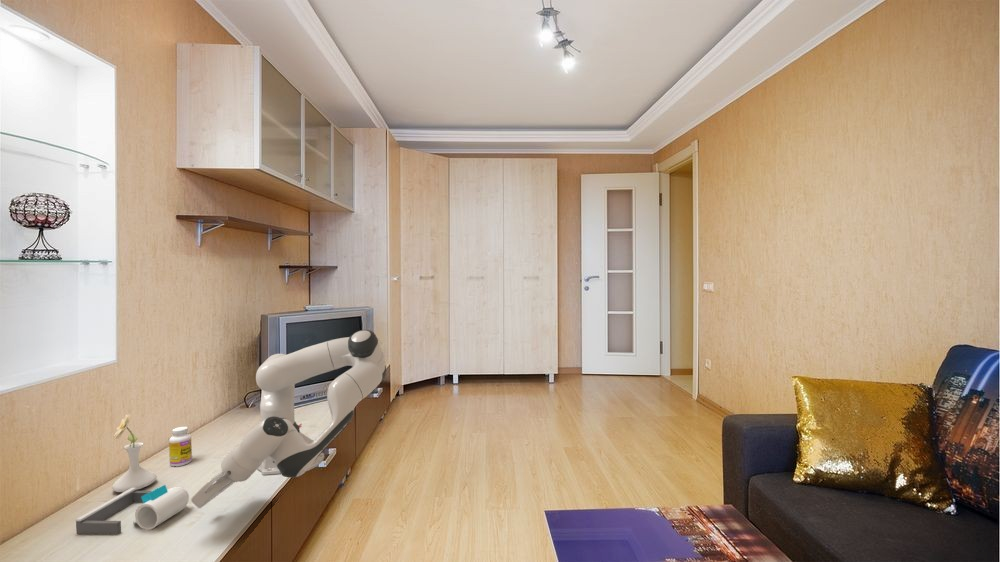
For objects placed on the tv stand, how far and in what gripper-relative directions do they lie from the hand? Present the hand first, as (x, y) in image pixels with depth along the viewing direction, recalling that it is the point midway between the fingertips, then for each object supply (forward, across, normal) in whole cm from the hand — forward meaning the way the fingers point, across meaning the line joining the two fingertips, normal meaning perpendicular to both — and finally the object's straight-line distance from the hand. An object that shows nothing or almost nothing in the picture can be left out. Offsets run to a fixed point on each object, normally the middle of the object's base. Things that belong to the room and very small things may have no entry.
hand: (207, 498), depth 127 cm
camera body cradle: (+21, 0, +14) cm, 25 cm away
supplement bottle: (+29, +35, +21) cm, 50 cm away
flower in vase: (+30, +17, +22) cm, 41 cm away
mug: (+14, 0, +6) cm, 15 cm away
